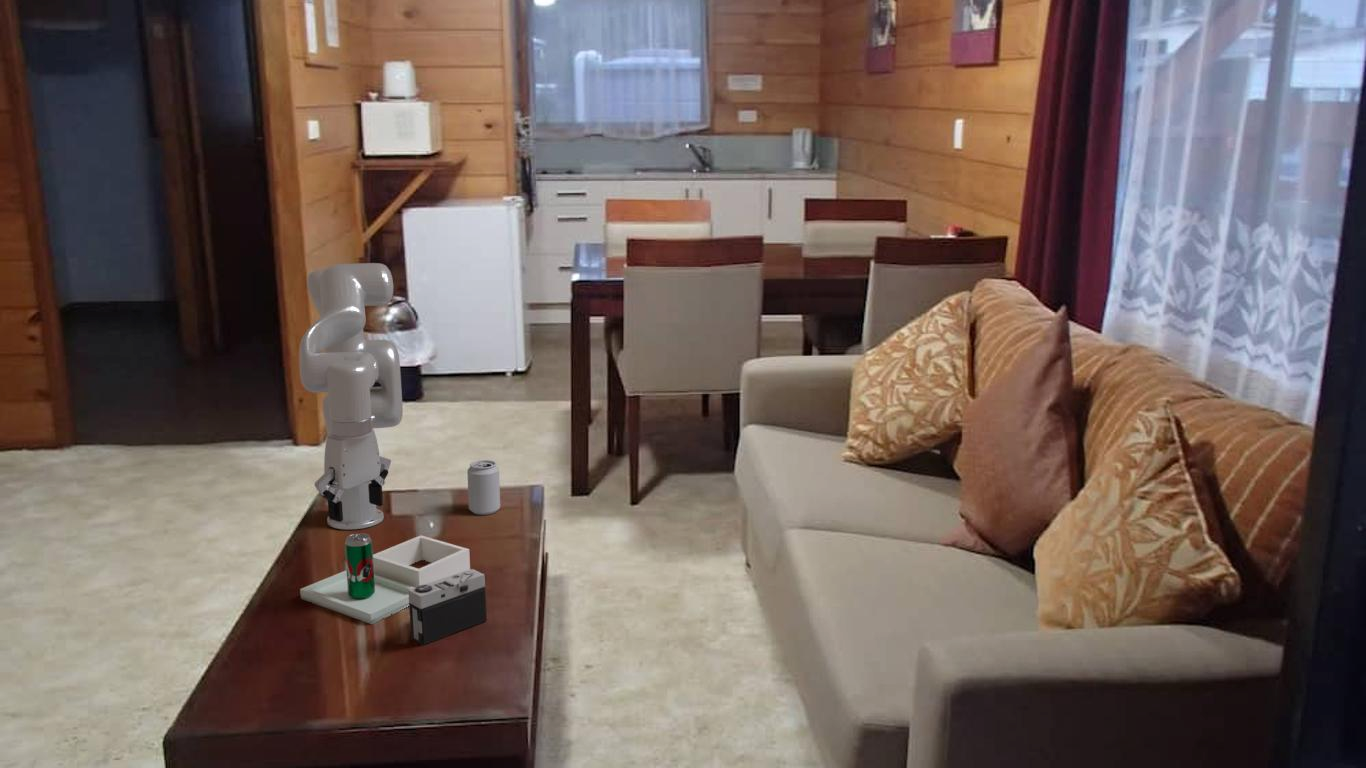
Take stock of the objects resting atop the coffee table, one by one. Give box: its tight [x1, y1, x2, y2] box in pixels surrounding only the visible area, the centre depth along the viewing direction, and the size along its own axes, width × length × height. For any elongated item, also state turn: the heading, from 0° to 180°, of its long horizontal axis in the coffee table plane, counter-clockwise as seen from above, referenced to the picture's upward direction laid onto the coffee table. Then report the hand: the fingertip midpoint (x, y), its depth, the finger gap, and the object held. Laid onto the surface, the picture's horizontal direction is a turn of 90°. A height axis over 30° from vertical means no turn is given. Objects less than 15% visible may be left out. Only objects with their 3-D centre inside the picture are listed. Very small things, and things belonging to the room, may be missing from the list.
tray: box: [299, 569, 415, 625], centre depth 209 cm, size 20×13×2 cm, turn 57°
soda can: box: [344, 532, 375, 599], centre depth 207 cm, size 5×5×12 cm
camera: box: [408, 568, 487, 646], centre depth 196 cm, size 14×8×10 cm, turn 136°
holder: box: [373, 534, 471, 588], centre depth 220 cm, size 14×14×5 cm
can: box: [466, 459, 501, 516], centre depth 257 cm, size 8×8×12 cm
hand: (356, 512), depth 205 cm, fingers open, 9 cm apart
